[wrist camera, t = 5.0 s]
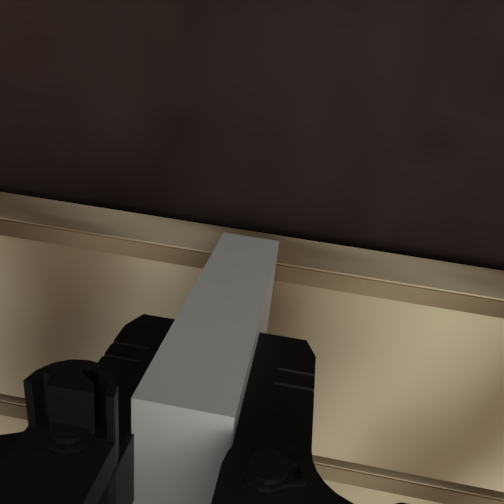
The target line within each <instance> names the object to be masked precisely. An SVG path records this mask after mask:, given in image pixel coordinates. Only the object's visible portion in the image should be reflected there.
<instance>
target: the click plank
mask: <svg viewBox="0 0 504 504" xmlns="http://www.w3.org/2000/svg"><path fill="white" fill-rule="evenodd" d="M223 232H224V233H230V234H237V235H243V236H250V237H256V238H262V239H269V240H276V241H279V248H278V255H277V262H276V270H275V277H274V284H273V291H272V299H271V306H270V313H269V320H268V328H267V334H273V335H279V336H284V337H290V338H296V339H302V340H307V342H308V344H309V345H310V347H311V349H312V351H313V353H314V354H315V356H316V365H315V387H314V409H313V431H312V455H316V456H322V457H327V458H332V459H337V460H342V461H347V462H352V463H357V464H362V465H367V466H373V467H378V468H383V469H388V470H393V471H398V472H403V473H408V474H413V475H418V476H424V477H429V478H434V479H439V480H444V481H449V482H454V483H459V484H464V485H469V486H475V487H480V488H485V489H490V490H495V491H500V492H504V271H502V270H495V269H489V268H483V267H476V266H470V265H463V264H457V263H451V262H444V261H438V260H432V259H425V258H419V257H412V256H406V255H400V254H393V253H387V252H381V251H374V250H368V249H362V248H355V247H349V246H342V245H336V244H330V243H323V242H317V241H311V240H304V239H298V238H292V237H285V236H279V235H272V234H266V233H260V232H253V231H247V230H241V229H234V228H228V227H221V226H215V225H209V224H202V223H196V222H190V221H183V220H177V219H171V218H164V217H158V216H151V215H145V214H139V213H132V212H126V211H120V210H113V209H107V208H101V207H94V206H88V205H81V204H75V203H69V202H62V201H56V200H50V199H43V198H37V197H30V196H24V195H18V194H11V193H5V192H0V394H5V395H10V396H16V397H21V398H25V393H24V384H23V380H24V379H26V378H27V377H28V376H29V375H31V374H32V373H33V372H34V371H36V370H37V369H40V368H42V367H44V366H47V365H49V364H51V363H54V362H59V361H65V360H70V359H78V360H91V361H94V362H97V363H98V361H99V360H100V359H101V357H102V356H104V355H105V352H106V350H107V349H108V348H109V346H110V345H111V343H113V342H114V339H115V338H116V337H117V335H118V334H119V332H120V331H121V330H122V328H123V327H124V325H126V324H127V323H129V322H131V321H132V320H134V319H136V318H137V317H139V316H141V315H142V314H147V315H153V316H158V317H164V318H170V319H176V317H177V315H178V313H179V311H180V310H181V308H182V306H183V304H184V302H185V301H186V299H187V297H188V295H189V293H190V292H191V290H192V288H193V286H194V284H195V283H196V281H197V279H198V277H199V275H200V274H201V272H202V270H203V268H204V267H205V265H206V263H207V261H208V259H209V258H210V256H211V254H212V252H213V250H214V249H215V247H216V245H217V243H218V241H219V240H220V238H221V236H222V234H223Z"/></svg>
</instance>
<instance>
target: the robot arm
mask: <svg viewBox="0 0 504 504" xmlns="http://www.w3.org/2000/svg"><path fill="white" fill-rule="evenodd" d="M278 248H279V241H276V240H269V239H262V238H256V237H250V236H243V235H237V234H230V233H224V232H223V234H222V236H221V238H220V240H219V241H218V243H217V245H216V247H215V249H214V250H213V252H212V254H211V256H210V258H209V259H208V261H207V263H206V265H205V267H204V268H203V270H202V272H201V274H200V275H199V277H198V279H197V281H196V283H195V284H194V286H193V288H192V290H191V292H190V293H189V295H188V297H187V299H186V301H185V302H184V304H183V306H182V308H181V310H180V311H179V313H178V315H177V317H176V319H170V318H164V317H158V316H153V315H147V314H142V315H141V316H139V317H137V318H136V319H134V320H132V321H131V322H129V323H127V324H126V325H124V327H123V328H122V330H121V331H120V332H119V334H118V335H117V337H116V338H115V339H114V342H113V343H111V345H110V346H109V348H108V349H107V350H106V352H105V355H104V356H102V357H101V359H100V360H99V361H98V363H97V362H94V361H91V360H78V359H70V360H65V361H59V362H54V363H51V364H49V365H47V366H44V367H42V368H40V369H37V370H36V371H34V372H33V373H32V374H31V375H29V376H28V377H27V378H26V379H24V380H23V384H24V393H25V401H26V410H27V418H28V427H27V428H26V429H25V430H24V431H22V432H17V433H11V434H2V435H0V504H354V503H352V502H350V501H348V500H347V499H345V498H343V497H342V496H340V495H339V494H337V493H336V492H335V491H333V490H332V489H331V488H330V487H329V486H328V485H327V484H326V483H325V482H324V480H323V479H322V478H321V476H320V475H319V473H318V472H317V470H316V467H315V465H314V462H313V458H312V431H313V409H314V387H315V365H316V356H315V354H314V353H313V351H312V349H311V347H310V345H309V344H308V342H307V340H302V339H296V338H290V337H284V336H279V335H273V334H267V328H268V320H269V313H270V306H271V299H272V291H273V284H274V277H275V270H276V262H277V255H278ZM395 504H408V503H401V502H400V503H395Z"/></svg>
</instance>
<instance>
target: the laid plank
mask: <svg viewBox="0 0 504 504" xmlns="http://www.w3.org/2000/svg"><path fill="white" fill-rule="evenodd" d="M27 427H28V418H27V410H26V401H25V398H21V397H16V396H10V395H5V394H0V435H2V434H11V433H17V432H22V431H24V430H25V429H26V428H27ZM312 458H313V462H314V465H315V467H316V470H317V472H318V473H319V475H320V476H321V478H322V479H323V480H324V482H325V483H326V484H327V485H328V486H329V487H330V488H331V489H332V490H333V491H335V492H336V493H337V494H339V495H340V496H342V497H343V498H345V499H347V500H348V501H350V502H352V503H354V504H395V503H400V502H401V503H408V504H504V492H500V491H495V490H490V489H485V488H480V487H475V486H469V485H464V484H459V483H454V482H449V481H444V480H439V479H434V478H429V477H424V476H418V475H413V474H408V473H403V472H398V471H393V470H388V469H383V468H378V467H373V466H367V465H362V464H357V463H352V462H347V461H342V460H337V459H332V458H327V457H322V456H316V455H312Z"/></svg>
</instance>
